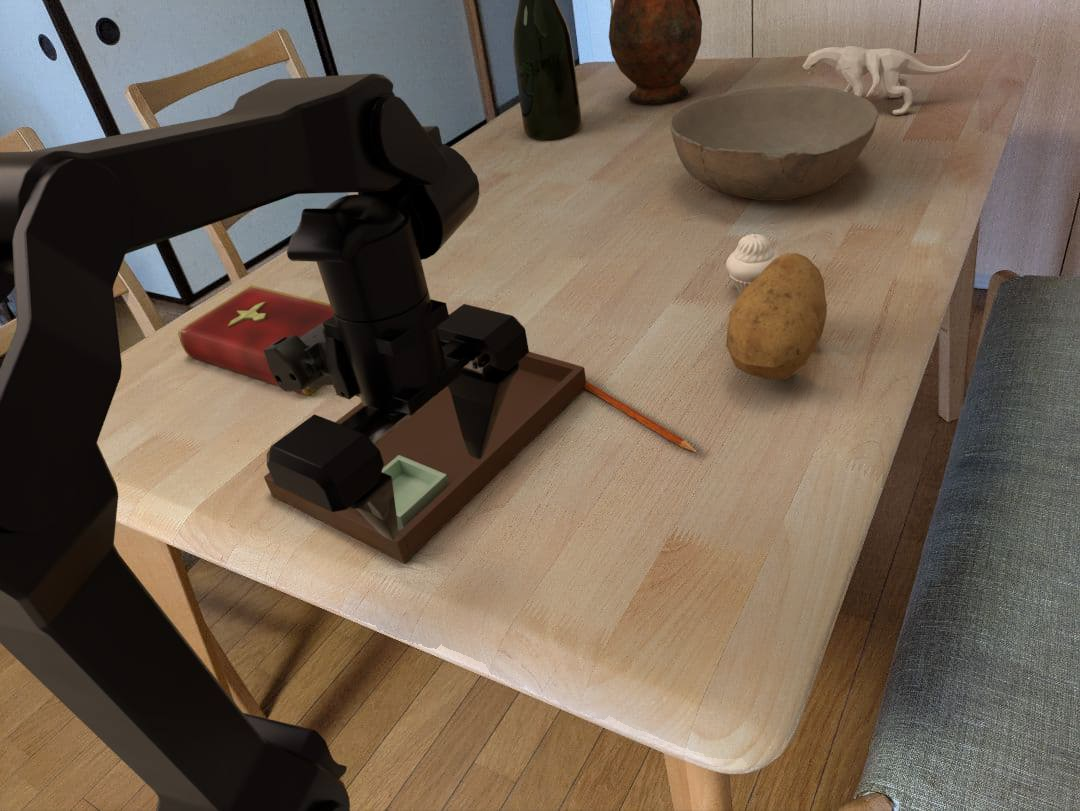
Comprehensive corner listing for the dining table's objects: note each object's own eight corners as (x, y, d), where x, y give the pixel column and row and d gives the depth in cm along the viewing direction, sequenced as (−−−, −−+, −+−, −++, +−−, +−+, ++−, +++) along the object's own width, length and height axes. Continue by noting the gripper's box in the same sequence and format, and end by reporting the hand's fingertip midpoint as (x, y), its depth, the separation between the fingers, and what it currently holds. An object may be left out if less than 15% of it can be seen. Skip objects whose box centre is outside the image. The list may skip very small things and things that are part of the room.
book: (306, 398, 92) (294, 366, 89) (188, 359, 103) (174, 330, 100) (378, 341, 100) (369, 311, 97) (261, 311, 110) (250, 283, 108)
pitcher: (624, 85, 167) (611, -87, 149) (733, 79, 160) (732, -101, 143) (603, 113, 155) (586, -70, 137) (720, 109, 148) (718, -85, 130)
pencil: (575, 377, 88) (574, 372, 88) (700, 453, 76) (700, 447, 75) (569, 381, 88) (568, 375, 87) (693, 457, 75) (693, 451, 75)
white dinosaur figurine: (800, 99, 146) (802, 39, 140) (957, 89, 139) (967, 25, 133) (800, 123, 137) (802, 60, 131) (968, 114, 130) (979, 47, 124)
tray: (404, 563, 70) (397, 542, 68) (271, 496, 79) (263, 476, 78) (587, 387, 86) (584, 367, 85) (459, 348, 96) (455, 330, 94)
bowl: (652, 220, 116) (648, 149, 110) (694, 145, 136) (692, 82, 130) (865, 225, 106) (872, 148, 100) (876, 144, 126) (883, 75, 120)
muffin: (718, 283, 99) (718, 229, 95) (768, 273, 100) (770, 218, 95) (737, 308, 94) (737, 252, 90) (789, 297, 95) (792, 240, 90)
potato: (706, 394, 82) (703, 312, 77) (760, 315, 92) (761, 238, 87) (793, 413, 78) (797, 328, 73) (840, 328, 88) (847, 248, 83)
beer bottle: (565, 143, 145) (538, -73, 126) (514, 140, 150) (480, -68, 131) (592, 121, 152) (570, -86, 133) (542, 119, 157) (514, -81, 138)
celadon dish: (406, 535, 72) (400, 516, 70) (358, 512, 75) (351, 494, 74) (451, 492, 75) (446, 474, 74) (404, 472, 78) (398, 454, 77)
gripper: (391, 216, 59) (436, 395, 68) (167, 347, 48) (257, 541, 57) (515, 239, 53) (547, 431, 62) (294, 395, 42) (372, 603, 51)
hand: (435, 494), depth 58 cm, fingers open, 9 cm apart
